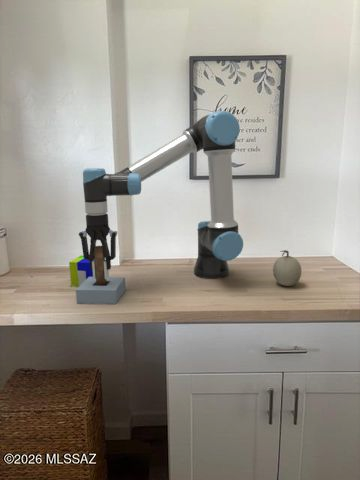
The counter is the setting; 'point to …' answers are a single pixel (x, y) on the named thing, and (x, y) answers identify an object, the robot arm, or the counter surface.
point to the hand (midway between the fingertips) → (101, 277)
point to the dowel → (99, 266)
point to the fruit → (287, 270)
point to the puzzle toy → (79, 270)
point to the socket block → (100, 291)
